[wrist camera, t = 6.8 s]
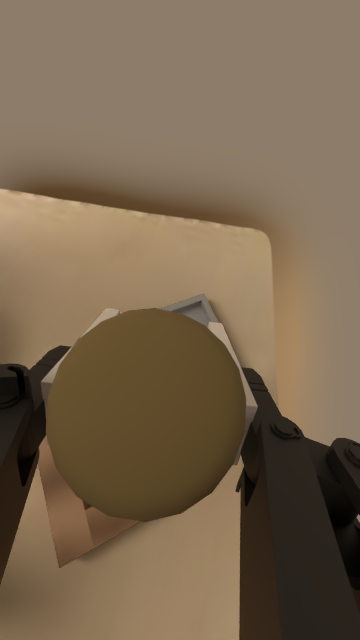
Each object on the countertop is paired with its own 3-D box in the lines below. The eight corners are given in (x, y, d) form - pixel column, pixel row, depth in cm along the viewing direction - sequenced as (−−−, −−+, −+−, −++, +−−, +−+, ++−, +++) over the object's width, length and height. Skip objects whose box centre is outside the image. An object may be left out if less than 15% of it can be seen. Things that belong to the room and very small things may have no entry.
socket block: (36, 409, 26) (27, 409, 24) (152, 361, 29) (152, 358, 27) (67, 554, 21) (59, 568, 20) (199, 479, 25) (202, 485, 23)
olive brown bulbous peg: (146, 344, 16) (134, 236, 6) (214, 396, 16) (328, 368, 5) (85, 417, 14) (-83, 430, 4) (160, 482, 13) (181, 701, 3)
